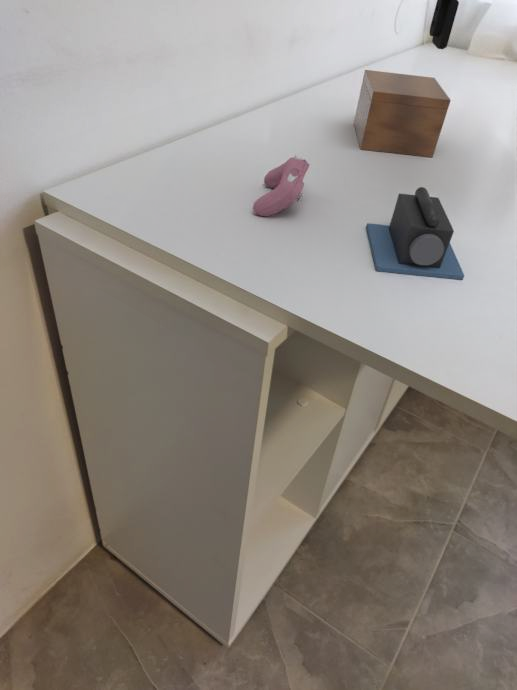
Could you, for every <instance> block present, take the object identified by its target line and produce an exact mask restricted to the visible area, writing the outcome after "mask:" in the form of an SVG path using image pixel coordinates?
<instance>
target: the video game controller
mask: <svg viewBox="0 0 517 690" xmlns="http://www.w3.org/2000/svg"><path fill="white" fill-rule="evenodd" d="M309 167H310V163H308V161H307V160H306V159H303V158H302V157H298V156H297V155H296V154H295V155H294V157H290V158H288V159H287V160H286V161H285V162H283V163H282V164H281V165H278V166H277V167H275V168H272V169H271V170H269V171H268V172H267V173H266V174H265V176H264V178H263V183H264V185H265V186H266V188H269V189H272V190H271V191H269V192H266V193H265V194H263V195H262V196H260V197H259V198H257V199H256V201H254V203H253V206H252V210H253V213H254V214H256V215H257V216H261V217H263V216H264V217H265V216H266V217H267V216H268V217H269V216H273V215H275V214H277V213H279V212H281V211H285V210H286V209H287V208H288V207H290V206H292V205H293V204H294V202H295V201H296V202H297V203H299V202H301V201H302V199H303V197H304V193H302V191H303V188H304V185H305V182H304V179H305V176H306V173H307V171H308V169H309Z"/></svg>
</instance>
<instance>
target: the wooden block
mask: <svg viewBox="0 0 517 690" xmlns="http://www.w3.org/2000/svg"><path fill="white" fill-rule="evenodd" d="M451 101H452V100H451V99H450V97H449V96H448V94H447V93H446V91H445V90H444V89H443V88H442V86H441V84H440V83H439V82H438V80H437V79H436V77H432V76H431V77H430V76H423V75H414V74H406V73H396V72H388V71H380V70H372V69H371V70H370V69H364V71H363V76H362V82H361V87H360V91H359V96H358V101H357V106H356V111H355V115H354V120H353V127H354V130H355V134H356V137H357V142H358V146H359V149H360V150H364V151H372V152H381V153H388V154H389V153H390V154H391V153H392V154H398V155H408V156H416V157H417V156H418V157H425V158H426V157H427V158H433V157H434V154H435V152H436V151H435V150H436V147H437V145H438V141H439V139H440V135H441V132H442V129H443V126H444V123H445V120H446V117H447V114H448V109H449V107H450V104H451Z"/></svg>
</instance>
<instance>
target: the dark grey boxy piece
mask: <svg viewBox="0 0 517 690" xmlns="http://www.w3.org/2000/svg"><path fill="white" fill-rule="evenodd" d="M454 230H455V229H454V228H453V226H452V224H451V222H450V219H449V217H448V215H447V213H446V211H445V209H444V207H443V204H442V202H441V200H440V198H439V197H435V196H430V193H429V191H428V189H427V188H426V187H424V186H420V187H418V188H416V189H415V191H414V194H409V193H398V195H397V198H396V202H395V205H394V209H393V213H392V216H391V219H390V223H389V232H390V235H391V239H392V242H393V246H394V249H395V252H396V256H397V259H398V263H399V264H405V265H415V266H424V267H434V268H440V267H441V264H442V261H443V259H444V256H445V254H446V251H447V248H448V246H449V243H450V244H451V240H452V238H453V235H454V233H455V231H454Z"/></svg>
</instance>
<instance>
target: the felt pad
mask: <svg viewBox="0 0 517 690" xmlns="http://www.w3.org/2000/svg"><path fill="white" fill-rule="evenodd" d="M389 226H390V224H389V225H388V224H379V223H369V222H367V223H366V226H365V228H366V233H367V237H368V241H369V246H370V249H371V250H370V251H371V255H372V259H373V264H374V268H375V271H376V272H383V273H394V274H404V275H411V276H412V275H413V276H420V277H421V276H422V277H429V278H440V279H450V280H452V279H453V280H460V281H463V280H464V278H465V273H464V272H463V269H462V267H461V265H460V263H459V260H458V258H457V255H456V254H455V251H454V249H453V246H452V244H451V242H450V243H449V246H448V248H447V251H446V254H445V256H444V259H443V261H442V264H441V267H440V268H434V267H424V266H415V265H405V264H399V263H398V259H397V256H396V252H395V249H394V246H393V242H392V239H391V235H390V232H389Z"/></svg>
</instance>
